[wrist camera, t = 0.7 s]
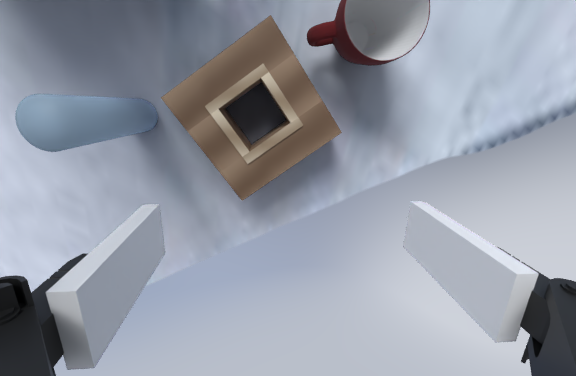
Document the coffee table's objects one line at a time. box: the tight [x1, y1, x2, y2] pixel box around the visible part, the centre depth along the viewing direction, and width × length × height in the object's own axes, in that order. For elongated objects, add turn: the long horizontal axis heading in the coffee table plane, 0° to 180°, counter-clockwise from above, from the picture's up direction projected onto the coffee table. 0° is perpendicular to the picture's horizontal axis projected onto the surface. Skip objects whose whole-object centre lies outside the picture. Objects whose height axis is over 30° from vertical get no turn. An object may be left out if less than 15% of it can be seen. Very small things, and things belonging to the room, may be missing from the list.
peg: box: [16, 94, 158, 152], centre depth 27 cm, size 4×4×16 cm
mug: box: [307, 0, 430, 65], centre depth 30 cm, size 11×8×10 cm
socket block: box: [161, 15, 342, 200], centre depth 33 cm, size 14×14×6 cm
